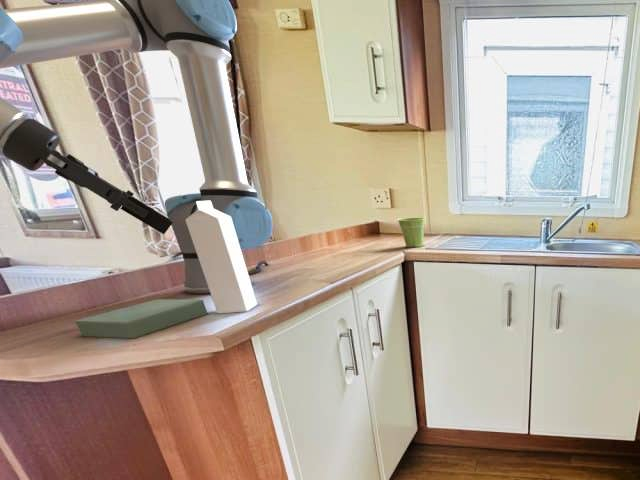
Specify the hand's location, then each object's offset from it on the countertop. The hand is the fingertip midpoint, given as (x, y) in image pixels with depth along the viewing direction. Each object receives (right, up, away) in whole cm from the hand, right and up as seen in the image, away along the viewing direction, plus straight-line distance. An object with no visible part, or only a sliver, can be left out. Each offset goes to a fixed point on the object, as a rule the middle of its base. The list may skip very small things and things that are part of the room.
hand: (167, 226), depth 81 cm
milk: (+6, -14, +12) cm, 19 cm away
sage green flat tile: (-6, -18, +3) cm, 20 cm away
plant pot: (+25, +29, +101) cm, 108 cm away
